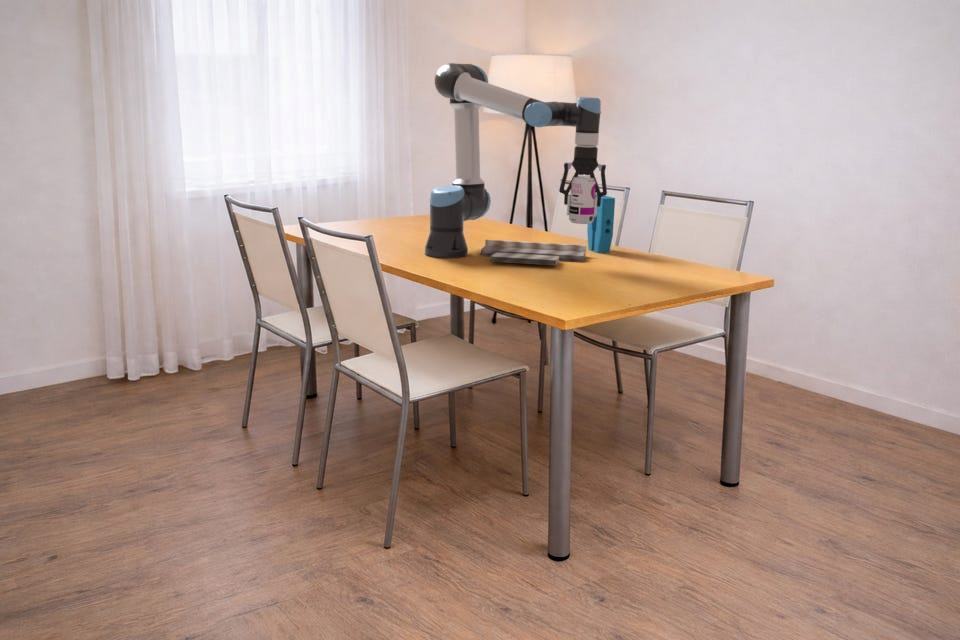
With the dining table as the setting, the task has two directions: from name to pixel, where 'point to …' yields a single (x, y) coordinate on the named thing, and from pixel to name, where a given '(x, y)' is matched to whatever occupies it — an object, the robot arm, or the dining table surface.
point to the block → (602, 226)
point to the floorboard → (535, 249)
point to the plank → (524, 258)
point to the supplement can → (582, 200)
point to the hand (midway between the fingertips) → (581, 215)
